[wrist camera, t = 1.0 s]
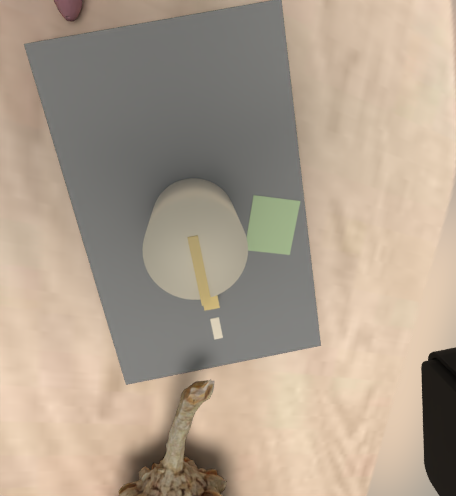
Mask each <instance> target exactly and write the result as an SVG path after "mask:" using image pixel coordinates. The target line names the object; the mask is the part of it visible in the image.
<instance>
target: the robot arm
mask: <svg viewBox="0 0 456 496" xmlns="http://www.w3.org/2000/svg"><path fill="white" fill-rule="evenodd" d="M421 370H422V401H423V403H422V404H423V434H424V436H423V437H424V464H425V469H426V472H427V475H428V477H429V480H430V482H431V483H432V485H433V486H434V488H435V490H436V491H437V493H438V494H439V496H456V348H451V349H446V350H441V351H436V352H432V353H430V354H429V357H428V361H425V362H423V363H422V368H421Z"/></svg>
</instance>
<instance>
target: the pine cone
mask: <svg viewBox="0 0 456 496" xmlns="http://www.w3.org/2000/svg"><path fill="white" fill-rule="evenodd" d="M213 389H214V381H211V379H210V380H209V381H198V382H195V383H193V384H192V385H191V386H189V387H188V388H186V389H185V390H184V391H183V393H182V395H181V399H180V404H179V406H178V409H177V412H176V415H175V418H174V421H173V424H172V427H171V430H170V433H169V439H168V441H167V444H166V448H167V451H166V455H165V457H164V459H163V460H160V464H156V463H153V465H152V469H151V470H150V469H148V468H147V467H144V468H142V469H141V470H140V471H139V480H138V481H135V482H132V483H128V484H124V485H123V486H122V488H121V489H120V490H119V496H222V495H221V493H222V492H223V491H224V490H225V486H226V482H227V481H225V480H224V479H223V478H221V477H220V476H218V475H217V470H214V469H209V470H207V471H206V470H205V469H203V468H200V469H198V468H197V466H196V465H195V464H194V460H190V459H189V458H188V457H185V458H184V449H185V440H186V437H187V434H188V432H189V429H190V427H191V423H192V420H193V417H194V414H195V412H196V411H197V409H198V408H199V406H200V405H201V404H202V403H203V402H204V401H206V400H208V399H210V397H211V395H212V393H213Z"/></svg>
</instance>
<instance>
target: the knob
mask: <svg viewBox="0 0 456 496" xmlns="http://www.w3.org/2000/svg"><path fill="white" fill-rule="evenodd" d="M142 251H143V260H144V264H145V267H146V269H147V271H148V273H149V275H150V277H151V278H152V280H153V281H154V282H155V283H156V284H157V285H158V286H159V287H160V288H161V289H163V290H164V291H166V292H167V293H169V294H171V295H173V296H176V297H179V298H183V299H190V300H200V299H201V304H202V306H204V311H206V310H211V309H216V308H220V306H219V301H218V296H217V295H219V294H221V293H222V292H224V291H226V290H227V289H228V288H230V287H231V286H232V285H233V284H234V283H235V282H236V281H237V280H238V278H239V277H240V275H241V274H242V272H243V270H244V268H245V265H246V262H247V257H248V242H247V238H246V234H245V232H244V229H243V227H242V225H241V222H240V220H239V218H238V216H237V213H236V211H235V209H234V207H233V205H232V202H231V200H230V199H229V197H228V195H227V194H226V193H225V192H224V191H223V190H222V189H221V188H220V187H219V186H217V185H216V184H214V183H212V182H210V181H207V180H204V179H198V178H189V179H183V180H180V181H177V182H175V183H173V184H171V185H170V186H168V187H167V188H166V189H165V190H164V191H163V192H162V193H161V194H160V195H159V197H158V199H157V200H156V202H155V205H154V208H153V211H152V214H151V217H150V220H149V224H148V227H147V230H146V233H145V237H144V241H143V248H142Z"/></svg>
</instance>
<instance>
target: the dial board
mask: <svg viewBox="0 0 456 496" xmlns="http://www.w3.org/2000/svg"><path fill="white" fill-rule="evenodd" d="M24 46H25V49H26V53H27V56H28V59H29V63H30V66H31V69H32V73H33V76H34V79H35V83H36V86H37V89H38V93H39V96H40V99H41V103H42V106H43V109H44V113H45V116H46V119H47V123H48V126H49V129H50V133H51V136H52V139H53V143H54V146H55V150H56V153H57V156H58V160H59V163H60V166H61V170H62V173H63V176H64V180H65V183H66V186H67V190H68V193H69V196H70V200H71V203H72V206H73V210H74V213H75V216H76V220H77V223H78V226H79V230H80V233H81V236H82V240H83V243H84V246H85V250H86V253H87V256H88V260H89V263H90V266H91V270H92V273H93V276H94V280H95V283H96V286H97V290H98V293H99V296H100V300H101V303H102V306H103V310H104V313H105V316H106V320H107V323H108V326H109V330H110V333H111V336H112V340H113V343H114V346H115V350H116V353H117V356H118V360H119V363H120V366H121V370H122V373H123V376H124V380H125V383H126V385H127V384H132V383H137V382H142V381H147V380H152V379H157V378H162V377H167V376H172V375H177V374H182V373H187V372H192V371H197V370H202V369H207V368H212V367H217V366H222V365H227V364H232V363H237V362H242V361H247V360H252V359H257V358H262V357H267V356H272V355H277V354H282V353H287V352H292V351H297V350H302V349H307V348H312V347H317V346H321V342H320V333H319V325H318V316H317V307H316V298H315V290H314V281H313V272H312V263H311V255H310V246H309V237H308V228H307V220H306V211H305V202H304V193H303V185H302V176H301V167H300V158H299V150H298V141H297V132H296V123H295V114H294V106H293V97H292V88H291V79H290V71H289V62H288V53H287V44H286V36H285V27H284V18H283V9H282V1H281V0H272V1H266V2H261V3H255V4H249V5H243V6H238V7H232V8H226V9H221V10H215V11H209V12H204V13H198V14H192V15H186V16H181V17H175V18H169V19H164V20H158V21H152V22H147V23H141V24H135V25H129V26H124V27H118V28H112V29H107V30H101V31H95V32H90V33H84V34H78V35H72V36H67V37H61V38H55V39H50V40H44V41H38V42H33V43H27V44H24ZM189 178H198V179H204V180H207V181H210V182H212V183H214V184H216V185H217V186H219V187H220V188H221V189H222V190H223V191H224V192H225V193H226V194H227V195H228V197H229V199H230V200H231V202H232V205H233V207H234V209H235V211H236V213H237V216H238V218H239V220H240V222H241V225H242V227H243V229H244V232H245V234H246V238H247V242H248V257H247V262H246V265H245V268H244V270H243V272H242V274H241V275H240V277H239V278H238V280H237V281H236V282H235V283H234V284H233V285H232V286H231V287H230V288H228V289H227V290H226V291H224V292H222V293H221V294H219V295H217V296H218V301H219V306H220V308H216V309H211V310H206V311H204V306H202V304H201V299H200V300H190V299H183V298H179V297H176V296H173V295H171V294H169V293H167V292H166V291H164V290H163V289H161V288H160V287H159V286H158V285H157V284H156V283H155V282H154V281H153V280H152V278H151V277H150V275H149V273H148V271H147V269H146V267H145V264H144V260H143V251H142V248H143V241H144V237H145V233H146V230H147V227H148V224H149V220H150V217H151V214H152V211H153V208H154V205H155V202H156V200H157V199H158V197H159V195H160V194H161V193H162V192H163V191H164V190H165V189H166V188H167V187H168V186H170V185H171V184H173V183H175V182H177V181H180V180H183V179H189Z"/></svg>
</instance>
